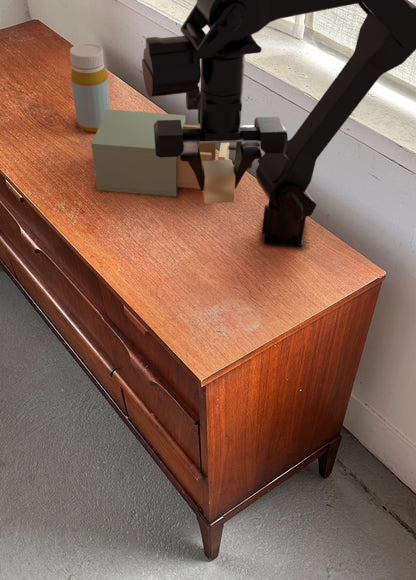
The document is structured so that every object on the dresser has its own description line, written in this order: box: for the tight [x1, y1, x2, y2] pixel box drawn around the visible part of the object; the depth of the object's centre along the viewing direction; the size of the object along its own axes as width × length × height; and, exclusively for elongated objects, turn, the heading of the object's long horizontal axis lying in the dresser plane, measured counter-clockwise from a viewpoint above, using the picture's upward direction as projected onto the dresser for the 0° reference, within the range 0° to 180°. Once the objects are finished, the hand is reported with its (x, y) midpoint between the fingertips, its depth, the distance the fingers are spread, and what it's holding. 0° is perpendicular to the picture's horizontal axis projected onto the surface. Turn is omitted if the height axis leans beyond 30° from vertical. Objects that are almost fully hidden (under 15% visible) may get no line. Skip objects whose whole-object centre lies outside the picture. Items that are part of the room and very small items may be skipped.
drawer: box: [176, 124, 254, 190], centre depth 114 cm, size 18×11×7 cm, turn 84°
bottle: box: [69, 43, 112, 134], centre depth 124 cm, size 7×7×15 cm
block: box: [201, 159, 236, 204], centre depth 95 cm, size 4×4×4 cm
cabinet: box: [91, 109, 186, 197], centre depth 115 cm, size 15×13×9 cm
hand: (217, 188), depth 96 cm, fingers closed on block, 4 cm apart
